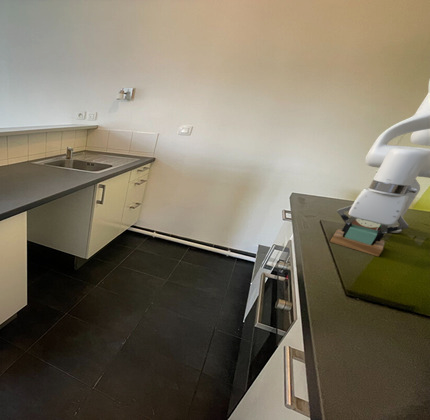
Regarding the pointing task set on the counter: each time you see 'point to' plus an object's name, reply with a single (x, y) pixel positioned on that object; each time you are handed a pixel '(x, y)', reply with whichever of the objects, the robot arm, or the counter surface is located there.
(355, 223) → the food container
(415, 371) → the counter surface
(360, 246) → the recessed wooden tray
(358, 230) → the green pad
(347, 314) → the counter surface
